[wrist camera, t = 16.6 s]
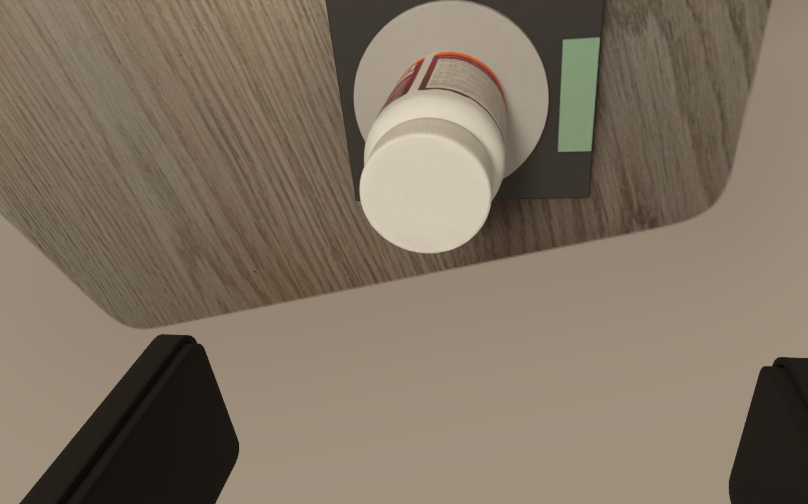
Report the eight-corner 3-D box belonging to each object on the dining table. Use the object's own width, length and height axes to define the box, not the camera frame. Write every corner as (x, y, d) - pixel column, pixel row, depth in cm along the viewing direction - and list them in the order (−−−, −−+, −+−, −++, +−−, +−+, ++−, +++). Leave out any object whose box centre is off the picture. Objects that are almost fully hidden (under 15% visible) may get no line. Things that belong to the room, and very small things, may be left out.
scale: (600, -35, 30) (608, -28, 27) (584, 180, 36) (590, 202, 33) (336, -13, 32) (321, -5, 30) (364, 184, 39) (353, 205, 36)
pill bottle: (410, 167, 34) (371, 276, 25) (380, 63, 31) (322, 140, 22) (516, 146, 32) (518, 254, 23) (495, 33, 29) (486, 103, 20)
